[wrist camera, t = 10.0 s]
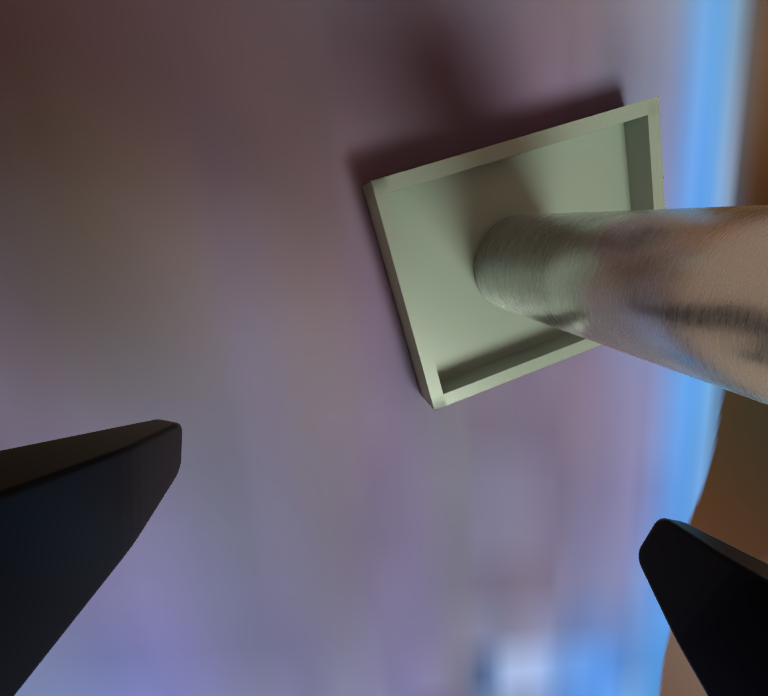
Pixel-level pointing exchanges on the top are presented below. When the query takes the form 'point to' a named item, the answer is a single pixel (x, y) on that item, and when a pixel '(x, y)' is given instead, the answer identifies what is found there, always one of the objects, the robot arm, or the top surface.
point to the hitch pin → (644, 285)
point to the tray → (474, 219)
